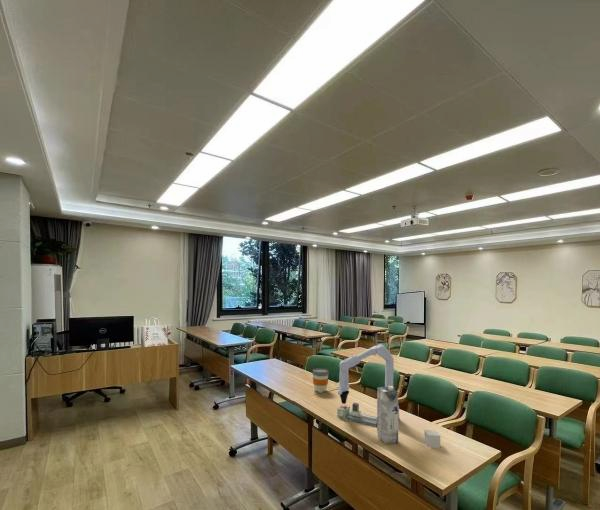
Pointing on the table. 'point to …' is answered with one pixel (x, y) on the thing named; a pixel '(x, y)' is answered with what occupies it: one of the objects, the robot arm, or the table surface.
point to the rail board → (363, 419)
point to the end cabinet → (343, 411)
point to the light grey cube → (432, 438)
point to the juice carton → (387, 414)
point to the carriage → (355, 409)
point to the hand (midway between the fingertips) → (343, 403)
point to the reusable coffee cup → (320, 379)
